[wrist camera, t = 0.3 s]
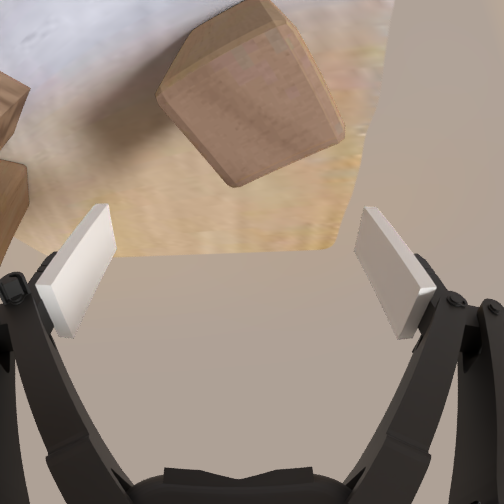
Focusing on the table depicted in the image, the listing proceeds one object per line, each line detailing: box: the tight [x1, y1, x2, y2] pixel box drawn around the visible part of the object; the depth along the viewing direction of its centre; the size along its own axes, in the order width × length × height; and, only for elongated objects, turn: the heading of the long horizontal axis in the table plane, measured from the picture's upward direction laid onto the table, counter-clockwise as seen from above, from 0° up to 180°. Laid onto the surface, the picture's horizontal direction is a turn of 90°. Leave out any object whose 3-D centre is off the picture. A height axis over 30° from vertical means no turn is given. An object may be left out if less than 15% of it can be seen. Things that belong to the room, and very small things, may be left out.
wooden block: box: [155, 0, 345, 188], centre depth 25 cm, size 10×10×20 cm
